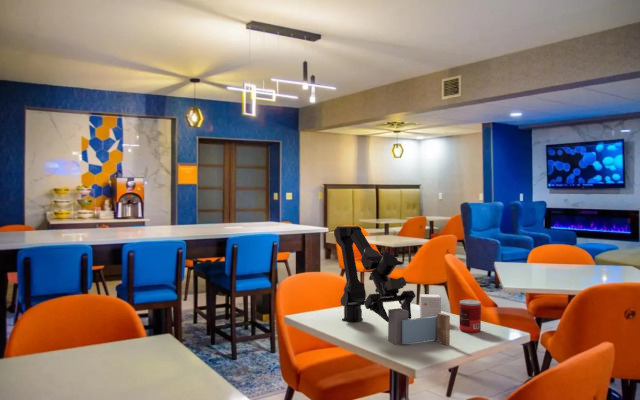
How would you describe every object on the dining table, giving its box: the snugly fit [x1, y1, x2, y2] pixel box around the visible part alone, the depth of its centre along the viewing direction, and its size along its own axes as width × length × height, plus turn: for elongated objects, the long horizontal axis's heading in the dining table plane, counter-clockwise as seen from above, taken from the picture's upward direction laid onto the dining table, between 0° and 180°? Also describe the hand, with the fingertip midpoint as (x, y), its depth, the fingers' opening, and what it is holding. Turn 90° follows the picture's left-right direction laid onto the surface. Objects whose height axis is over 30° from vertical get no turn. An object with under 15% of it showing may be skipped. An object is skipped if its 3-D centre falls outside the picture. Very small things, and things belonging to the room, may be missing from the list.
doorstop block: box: [387, 307, 409, 345], centre depth 173 cm, size 5×5×11 cm
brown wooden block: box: [436, 312, 451, 346], centre depth 171 cm, size 5×1×10 cm, turn 25°
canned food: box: [459, 299, 482, 334], centre depth 187 cm, size 8×8×11 cm
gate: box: [401, 316, 437, 345], centre depth 172 cm, size 15×1×8 cm, turn 115°
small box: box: [419, 293, 442, 318], centre depth 201 cm, size 8×6×10 cm
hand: (399, 319), depth 172 cm, fingers open, 9 cm apart
